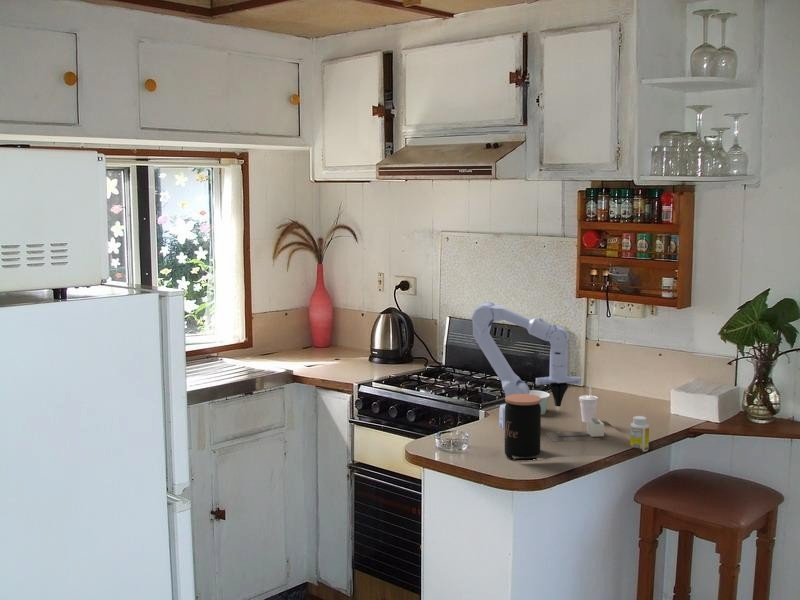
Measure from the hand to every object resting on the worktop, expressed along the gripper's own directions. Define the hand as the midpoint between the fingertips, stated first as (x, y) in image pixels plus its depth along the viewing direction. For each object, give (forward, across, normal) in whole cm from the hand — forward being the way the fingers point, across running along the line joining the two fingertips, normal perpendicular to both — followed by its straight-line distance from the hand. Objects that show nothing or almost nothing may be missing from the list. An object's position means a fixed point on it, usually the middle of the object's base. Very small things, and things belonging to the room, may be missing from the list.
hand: (557, 405), depth 298 cm
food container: (+10, -1, +28) cm, 30 cm away
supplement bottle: (+9, +20, -20) cm, 30 cm away
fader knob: (+8, +10, -8) cm, 15 cm away
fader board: (+9, +5, -9) cm, 13 cm away
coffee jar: (+10, -17, -23) cm, 30 cm away
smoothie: (+10, +13, +8) cm, 18 cm away
